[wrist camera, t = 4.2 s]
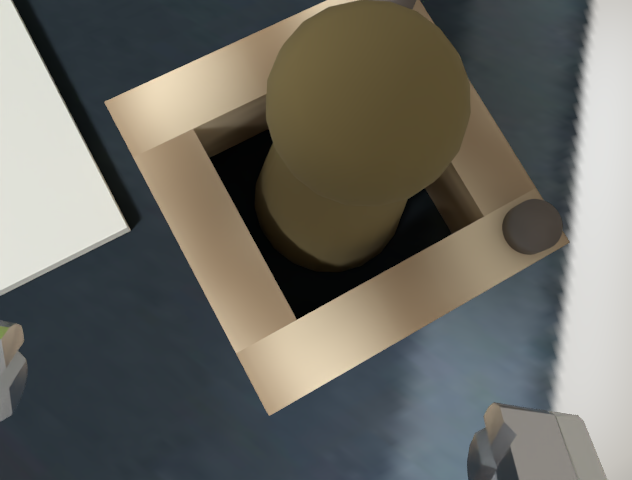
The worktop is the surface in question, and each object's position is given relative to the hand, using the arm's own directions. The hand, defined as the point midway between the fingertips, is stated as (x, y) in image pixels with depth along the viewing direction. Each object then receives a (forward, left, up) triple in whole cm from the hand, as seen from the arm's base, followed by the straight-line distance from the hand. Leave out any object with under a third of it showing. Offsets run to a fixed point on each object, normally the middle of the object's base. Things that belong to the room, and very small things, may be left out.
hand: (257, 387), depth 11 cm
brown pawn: (+6, +5, -13) cm, 15 cm away
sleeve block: (+6, +5, -13) cm, 15 cm away
